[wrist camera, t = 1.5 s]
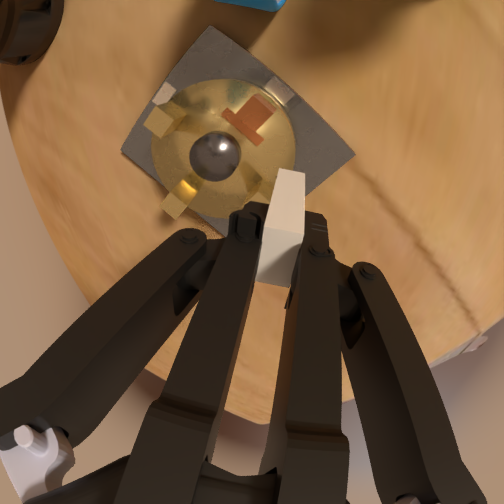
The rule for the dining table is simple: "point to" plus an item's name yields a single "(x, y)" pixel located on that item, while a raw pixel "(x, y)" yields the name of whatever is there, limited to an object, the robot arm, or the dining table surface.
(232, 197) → the notched brass disc
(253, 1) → the alarm clock
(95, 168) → the dining table surface
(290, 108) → the spindle plate
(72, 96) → the dining table surface
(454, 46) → the dining table surface
